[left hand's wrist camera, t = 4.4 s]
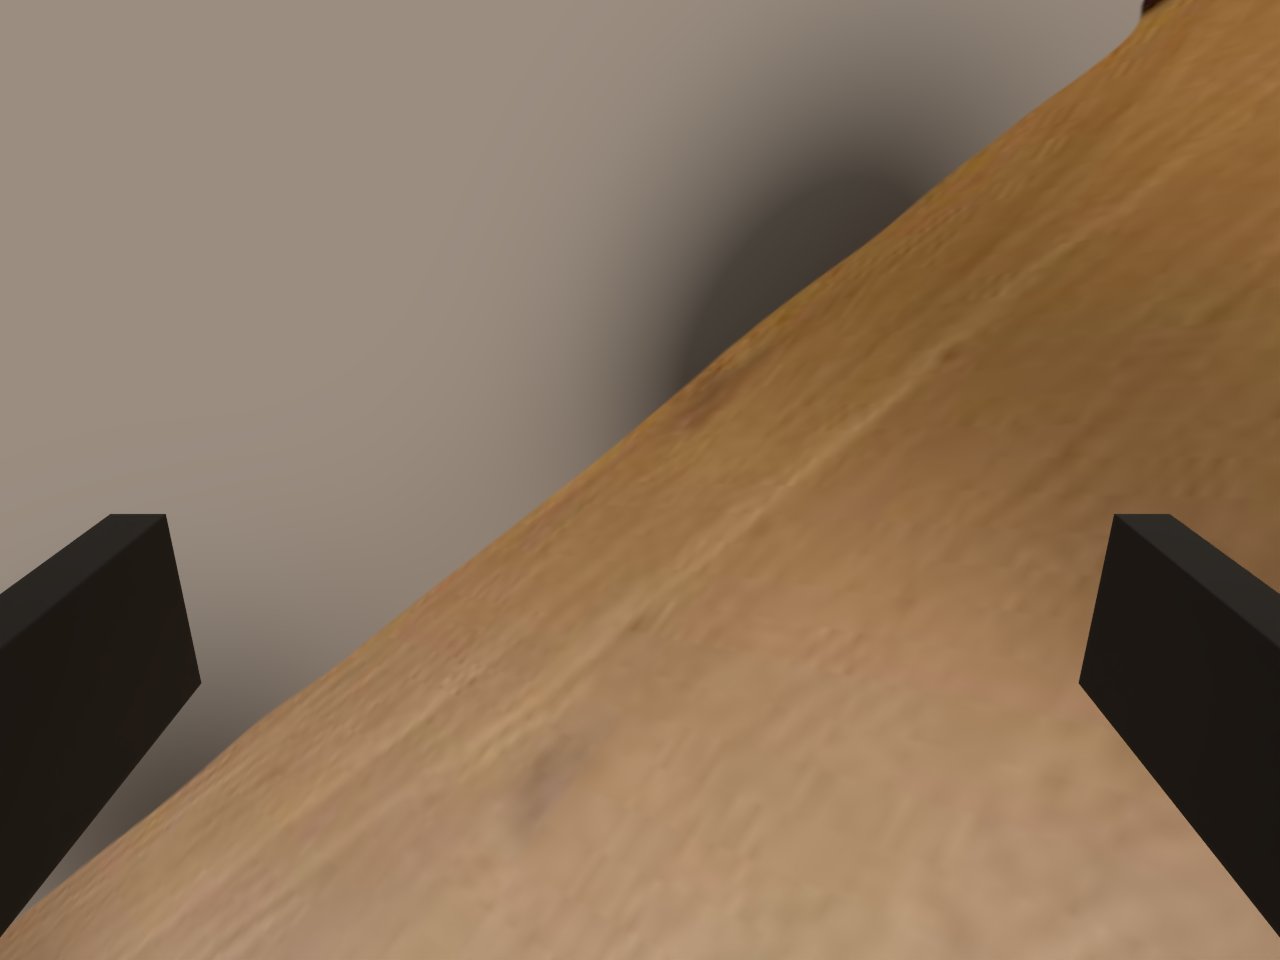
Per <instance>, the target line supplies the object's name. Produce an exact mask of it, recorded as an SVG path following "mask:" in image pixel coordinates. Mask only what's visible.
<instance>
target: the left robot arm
mask: <svg viewBox="0 0 1280 960" xmlns="http://www.w3.org/2000/svg"><path fill="white" fill-rule="evenodd" d="M200 684H201V679H200V675H199V670H198V665H197V660H196V656H195V651H194V646H193V641H192V637H191V632H190V627H189V622H188V618H187V613H186V608H185V604H184V599H183V594H182V589H181V584H180V580H179V575H178V570H177V566H176V561H175V556H174V551H173V546H172V542H171V537H170V532H169V527H168V523H167V518H166V514H110V515H109V516H107V517H106V518H104V519H103V520H102V521H100V522H99V523H98V524H96V525H95V526H93V527H92V528H91V529H89V530H88V531H87V532H85V533H84V534H82V535H81V536H80V537H78V538H77V539H75V540H74V541H73V542H71V543H70V544H69V545H67V546H66V547H65V548H63V549H62V550H60V551H59V552H58V553H56V554H55V555H54V556H52V557H51V558H49V559H48V560H47V561H45V562H44V563H42V564H41V565H40V566H38V567H37V568H36V569H34V570H33V571H31V572H30V573H29V574H27V575H26V576H25V577H23V578H22V579H21V580H19V581H18V582H16V583H15V584H14V585H12V586H11V587H9V588H8V589H7V590H5V591H4V592H3V593H1V594H0V937H1V936H2V934H3V933H4V932H5V931H6V929H7V928H8V927H9V926H10V924H11V923H12V922H13V920H14V919H15V918H16V917H17V915H18V914H19V913H20V912H21V910H22V909H23V908H24V907H25V905H26V904H27V903H28V901H29V900H30V899H31V898H32V896H33V895H34V894H35V893H36V891H37V890H38V889H39V888H40V886H41V885H42V884H43V883H44V881H45V880H46V879H47V878H48V876H49V875H50V874H51V872H52V871H53V870H54V869H55V867H56V866H57V865H58V864H59V862H60V861H61V860H62V859H63V857H64V856H65V855H66V853H67V852H68V851H69V850H70V848H71V847H72V846H73V845H74V843H75V842H76V841H77V840H78V838H79V837H80V836H81V835H82V833H83V832H84V831H85V829H86V828H87V827H88V826H89V824H90V823H91V822H92V821H93V819H94V818H95V817H96V816H97V814H98V813H99V812H100V811H101V809H102V808H103V807H104V805H105V804H106V803H107V802H108V800H109V799H110V798H111V797H112V795H113V794H114V793H115V792H116V790H117V789H118V788H119V787H120V785H121V784H122V783H123V781H124V780H125V779H126V778H127V776H128V775H129V774H130V773H131V771H132V770H133V769H134V768H135V766H136V765H137V764H138V763H139V761H140V760H141V759H142V757H143V756H144V755H145V754H146V752H147V751H148V750H149V749H150V747H151V746H152V745H153V744H154V742H155V741H156V740H157V738H158V737H159V736H160V735H161V733H162V732H163V731H164V730H165V728H166V727H167V726H168V725H169V723H170V722H171V721H172V720H173V718H174V717H175V716H176V715H177V713H178V712H179V711H180V709H181V708H182V707H183V706H184V704H185V703H186V702H187V701H188V699H189V698H190V697H191V696H192V694H193V693H194V692H195V690H196V689H197V688H198V687H199V685H200ZM1079 684H1080V685H1081V687H1082V688H1083V689H1084V691H1085V692H1086V693H1087V694H1088V696H1089V697H1090V698H1091V699H1092V701H1093V702H1094V703H1095V704H1096V706H1097V707H1098V708H1099V709H1100V711H1101V712H1102V713H1103V715H1104V716H1105V717H1106V718H1107V720H1108V721H1109V722H1110V723H1111V725H1112V726H1113V727H1114V728H1115V730H1116V731H1117V732H1118V733H1119V735H1120V736H1121V737H1122V739H1123V740H1124V741H1125V742H1126V744H1127V745H1128V746H1129V747H1130V749H1131V750H1132V751H1133V752H1134V754H1135V755H1136V756H1137V757H1138V759H1139V760H1140V761H1141V763H1142V764H1143V765H1144V766H1145V768H1146V769H1147V770H1148V771H1149V773H1150V774H1151V775H1152V776H1153V778H1154V779H1155V780H1156V781H1157V783H1158V784H1159V785H1160V787H1161V788H1162V789H1163V790H1164V792H1165V793H1166V794H1167V795H1168V797H1169V798H1170V799H1171V800H1172V802H1173V803H1174V804H1175V805H1176V807H1177V808H1178V809H1179V811H1180V812H1181V813H1182V814H1183V816H1184V817H1185V818H1186V819H1187V821H1188V822H1189V823H1190V824H1191V826H1192V827H1193V828H1194V830H1195V831H1196V832H1197V833H1198V835H1199V836H1200V837H1201V838H1202V840H1203V841H1204V842H1205V843H1206V845H1207V846H1208V847H1209V848H1210V850H1211V851H1212V852H1213V854H1214V855H1215V856H1216V857H1217V859H1218V860H1219V861H1220V862H1221V864H1222V865H1223V866H1224V867H1225V869H1226V870H1227V871H1228V872H1229V874H1230V875H1231V876H1232V878H1233V879H1234V880H1235V881H1236V883H1237V884H1238V885H1239V886H1240V888H1241V889H1242V890H1243V891H1244V893H1245V894H1246V895H1247V896H1248V898H1249V899H1250V900H1251V902H1252V903H1253V904H1254V905H1255V907H1256V908H1257V909H1258V910H1259V912H1260V913H1261V914H1262V915H1263V917H1264V918H1265V919H1266V920H1267V922H1268V923H1269V924H1270V926H1271V927H1272V928H1273V929H1274V931H1275V932H1276V933H1277V934H1278V936H1279V937H1280V594H1279V593H1277V592H1276V591H1275V590H1273V589H1272V588H1270V587H1269V586H1268V585H1266V584H1265V583H1264V582H1262V581H1261V580H1259V579H1258V578H1257V577H1255V576H1254V575H1253V574H1251V573H1250V572H1248V571H1247V570H1246V569H1244V568H1243V567H1242V566H1240V565H1239V564H1237V563H1236V562H1235V561H1233V560H1232V559H1231V558H1229V557H1228V556H1226V555H1225V554H1224V553H1222V552H1221V551H1220V550H1218V549H1217V548H1216V547H1214V546H1213V545H1211V544H1210V543H1209V542H1207V541H1206V540H1205V539H1203V538H1202V537H1200V536H1199V535H1198V534H1196V533H1195V532H1194V531H1192V530H1191V529H1189V528H1188V527H1187V526H1185V525H1184V524H1183V523H1181V522H1180V521H1178V520H1177V519H1176V518H1174V517H1173V516H1172V515H1170V514H1114V518H1113V523H1112V527H1111V532H1110V537H1109V542H1108V546H1107V551H1106V556H1105V561H1104V565H1103V570H1102V575H1101V580H1100V584H1099V589H1098V594H1097V599H1096V603H1095V608H1094V613H1093V618H1092V622H1091V627H1090V632H1089V637H1088V641H1087V646H1086V651H1085V656H1084V660H1083V665H1082V670H1081V675H1080V679H1079Z"/></svg>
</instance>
